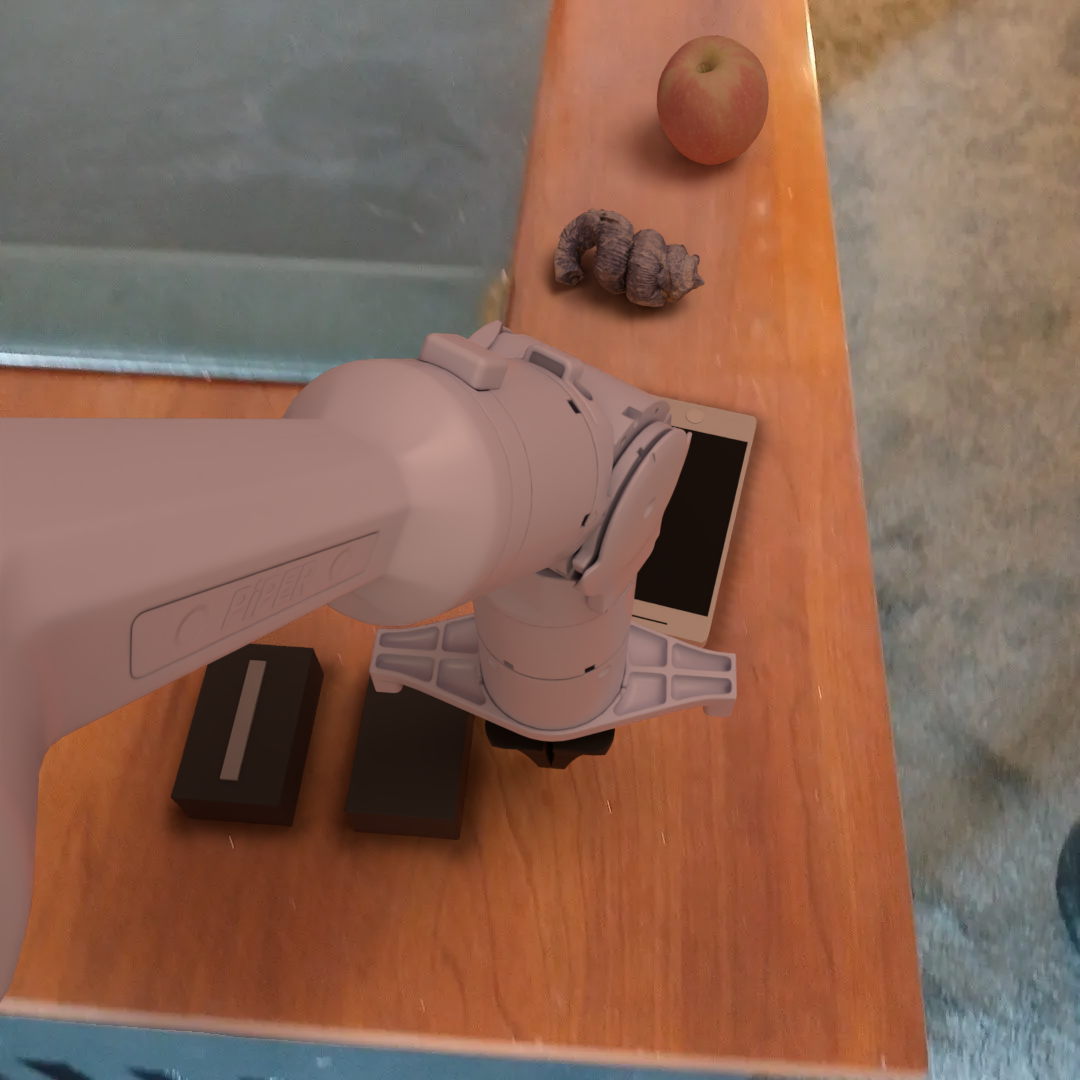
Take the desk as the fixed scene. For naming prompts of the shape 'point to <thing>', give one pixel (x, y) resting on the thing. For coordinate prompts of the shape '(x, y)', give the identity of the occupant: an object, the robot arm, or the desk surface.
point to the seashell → (626, 259)
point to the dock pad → (250, 736)
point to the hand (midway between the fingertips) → (553, 748)
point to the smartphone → (695, 524)
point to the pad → (410, 765)
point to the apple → (712, 99)
